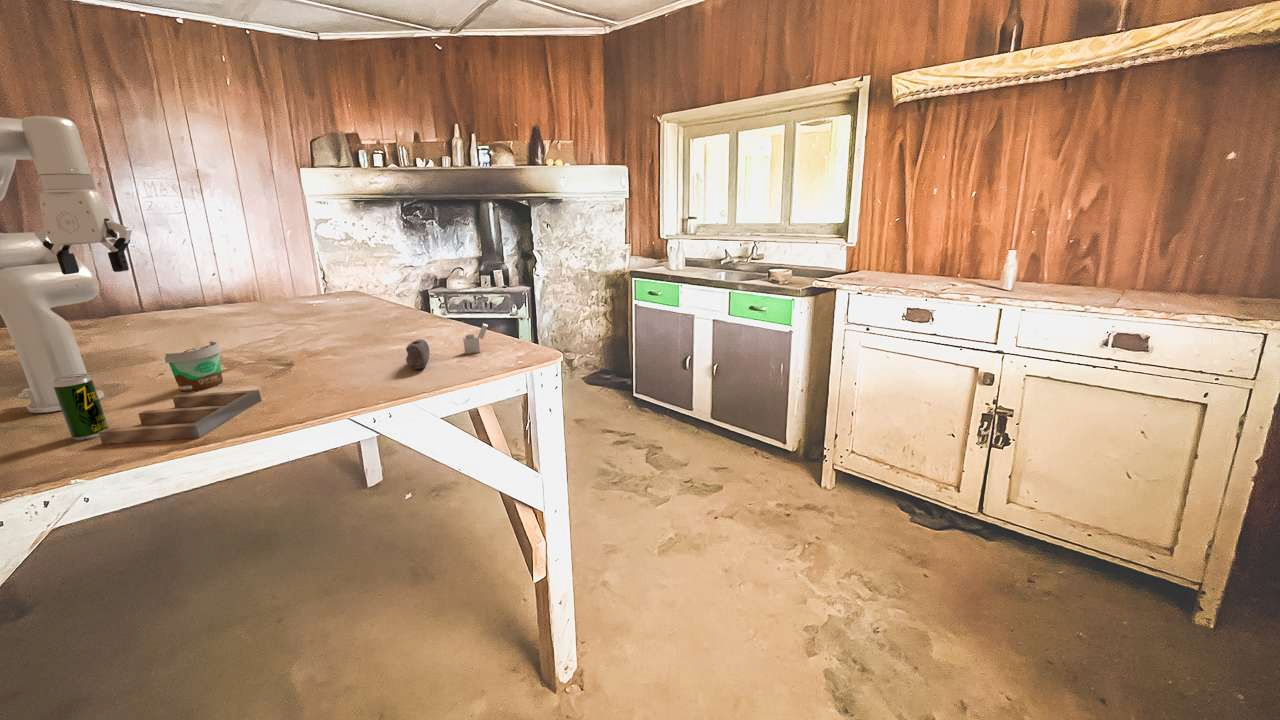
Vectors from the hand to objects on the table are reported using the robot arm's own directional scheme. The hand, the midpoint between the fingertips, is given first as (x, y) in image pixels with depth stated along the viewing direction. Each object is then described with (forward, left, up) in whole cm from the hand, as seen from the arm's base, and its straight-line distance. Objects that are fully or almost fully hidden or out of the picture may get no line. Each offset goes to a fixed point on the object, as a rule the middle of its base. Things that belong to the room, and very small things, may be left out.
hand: (96, 272), depth 113 cm
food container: (+5, +15, -31) cm, 34 cm away
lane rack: (+16, -9, -30) cm, 35 cm away
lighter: (+67, +33, -31) cm, 81 cm away
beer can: (+1, -14, -31) cm, 33 cm away
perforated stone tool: (+54, +23, -31) cm, 66 cm away
